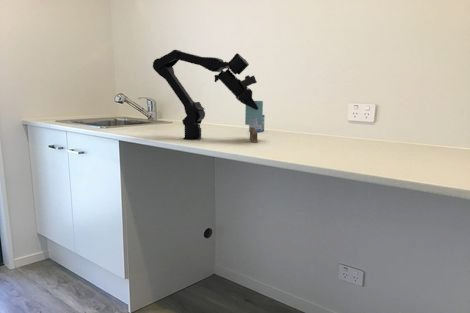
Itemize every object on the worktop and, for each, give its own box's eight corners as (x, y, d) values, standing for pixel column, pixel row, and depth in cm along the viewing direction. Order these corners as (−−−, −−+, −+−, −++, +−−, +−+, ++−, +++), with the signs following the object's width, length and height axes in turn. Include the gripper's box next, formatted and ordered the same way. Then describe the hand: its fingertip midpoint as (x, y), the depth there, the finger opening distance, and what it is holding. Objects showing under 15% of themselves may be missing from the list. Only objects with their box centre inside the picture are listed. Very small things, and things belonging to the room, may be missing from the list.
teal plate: (245, 124, 158) (246, 101, 156) (245, 124, 161) (245, 100, 159) (262, 124, 158) (262, 101, 156) (261, 124, 161) (261, 100, 159)
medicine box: (255, 132, 186) (256, 115, 185) (248, 132, 189) (248, 115, 187) (264, 131, 193) (264, 114, 191) (257, 130, 195) (257, 114, 194)
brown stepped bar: (257, 142, 155) (257, 130, 154) (252, 142, 155) (252, 130, 154) (254, 138, 167) (254, 127, 166) (249, 138, 167) (249, 127, 166)
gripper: (247, 67, 146) (274, 96, 149) (243, 69, 164) (267, 94, 167) (227, 87, 147) (254, 115, 150) (225, 87, 165) (249, 112, 168)
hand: (257, 109), depth 158 cm, fingers closed on teal plate, 3 cm apart
